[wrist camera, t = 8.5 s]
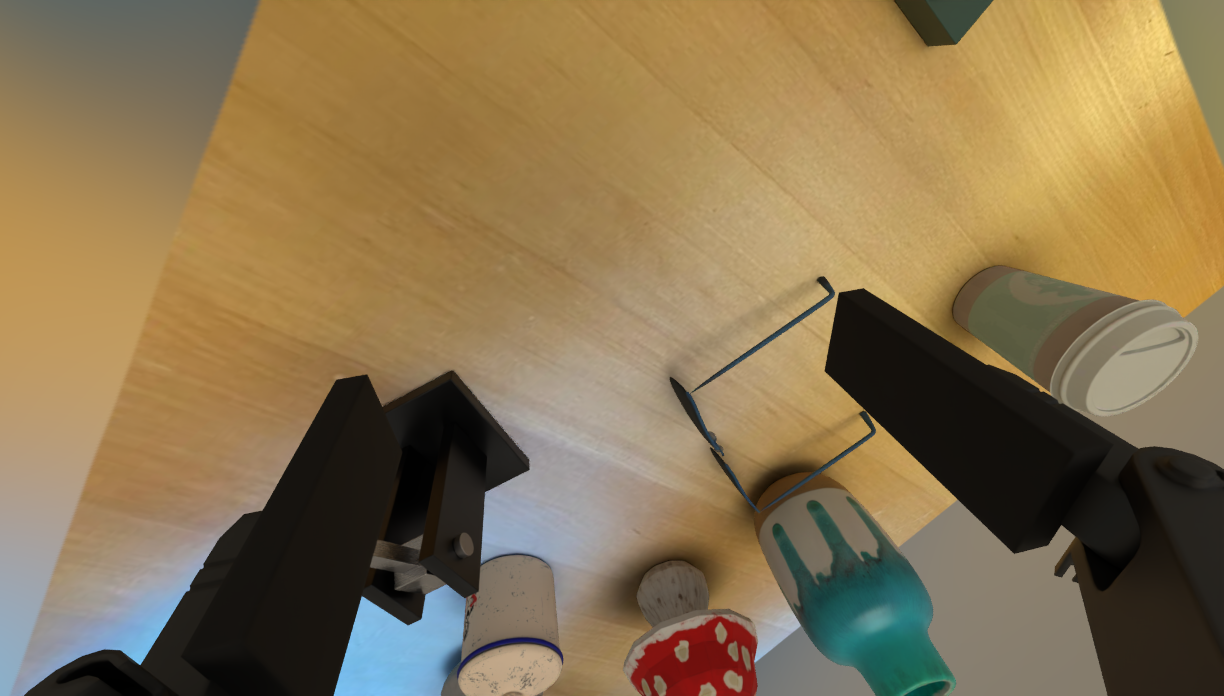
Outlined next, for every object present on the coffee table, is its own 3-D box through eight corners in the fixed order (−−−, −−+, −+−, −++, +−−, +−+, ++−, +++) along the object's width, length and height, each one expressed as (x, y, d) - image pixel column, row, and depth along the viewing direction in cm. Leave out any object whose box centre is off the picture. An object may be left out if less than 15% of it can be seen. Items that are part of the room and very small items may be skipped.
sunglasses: (657, 367, 38) (684, 400, 33) (806, 266, 38) (851, 285, 34) (731, 485, 47) (759, 522, 42) (851, 402, 47) (891, 431, 43)
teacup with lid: (455, 562, 45) (440, 699, 35) (548, 543, 46) (559, 670, 36) (482, 629, 51) (475, 761, 41) (564, 610, 52) (576, 735, 42)
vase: (851, 479, 50) (1014, 674, 34) (776, 537, 53) (893, 742, 37) (798, 437, 45) (959, 642, 29) (719, 504, 48) (825, 723, 32)
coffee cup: (1048, 270, 40) (1229, 337, 30) (977, 350, 44) (1118, 434, 34) (990, 233, 37) (1170, 293, 27) (918, 323, 41) (1054, 406, 30)
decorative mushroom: (749, 549, 53) (824, 698, 40) (683, 620, 58) (731, 772, 45) (649, 525, 48) (699, 689, 35) (585, 606, 53) (609, 774, 40)
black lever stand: (350, 423, 35) (278, 580, 24) (452, 369, 34) (426, 505, 24) (440, 504, 41) (415, 660, 30) (529, 460, 40) (536, 602, 29)
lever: (218, 526, 21) (207, 581, 19) (312, 477, 20) (308, 530, 19) (404, 565, 30) (406, 604, 29) (470, 532, 30) (476, 570, 29)
